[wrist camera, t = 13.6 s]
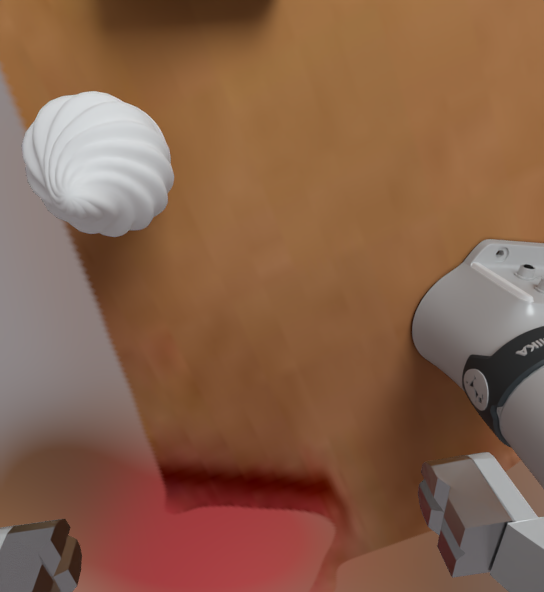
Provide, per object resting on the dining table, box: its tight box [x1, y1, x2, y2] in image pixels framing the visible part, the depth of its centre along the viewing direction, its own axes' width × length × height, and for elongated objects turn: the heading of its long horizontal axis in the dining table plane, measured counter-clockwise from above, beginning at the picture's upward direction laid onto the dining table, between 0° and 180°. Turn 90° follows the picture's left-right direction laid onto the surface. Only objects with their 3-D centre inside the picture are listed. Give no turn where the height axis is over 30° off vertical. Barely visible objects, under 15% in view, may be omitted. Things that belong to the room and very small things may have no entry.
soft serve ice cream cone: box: [22, 91, 174, 237], centre depth 27 cm, size 8×8×16 cm
